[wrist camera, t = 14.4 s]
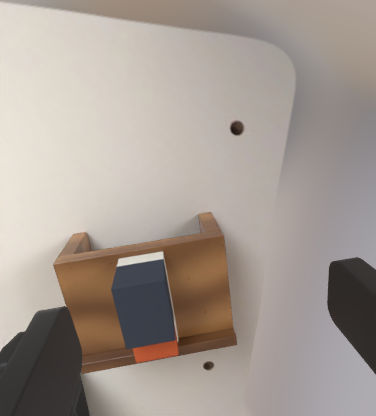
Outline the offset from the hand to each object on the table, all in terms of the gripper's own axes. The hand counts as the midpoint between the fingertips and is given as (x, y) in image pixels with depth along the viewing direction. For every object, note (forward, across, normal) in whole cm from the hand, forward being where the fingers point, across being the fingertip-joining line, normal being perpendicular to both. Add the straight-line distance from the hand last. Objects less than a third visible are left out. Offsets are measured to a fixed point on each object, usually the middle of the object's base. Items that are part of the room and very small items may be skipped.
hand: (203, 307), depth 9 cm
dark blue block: (+17, +4, +12) cm, 21 cm away
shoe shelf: (+24, +4, +13) cm, 28 cm away
